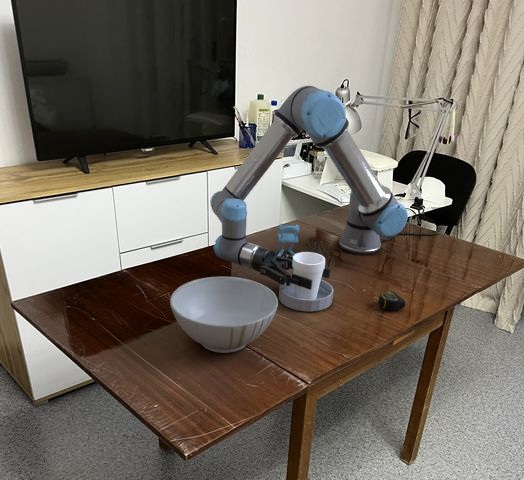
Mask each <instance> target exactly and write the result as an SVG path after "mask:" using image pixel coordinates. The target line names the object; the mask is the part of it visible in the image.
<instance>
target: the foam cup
mask: <svg viewBox="0 0 524 480" xmlns="http://www.w3.org/2000/svg"><path fill="white" fill-rule="evenodd" d="M292 266H293V269H292V274H295V275H298V276H301V277H304V278H307V279H310V280H312V289H311V290H309V289H306V288H304V287H301V286H298V285H295V284H294V293H295V298H299V299H307V300H314V299H316V297H317V293H318V289H319V285H320V281H321V280H322V278H323V277H322V273H323V269H324V268H326V267H325V266H326V257H325V256H324V255H322V254H319V253H317V252H311V251H300V252H297V253H295V255H294V256H293V262H292Z"/></svg>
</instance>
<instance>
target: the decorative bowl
mask: <svg viewBox="0 0 524 480" xmlns="http://www.w3.org/2000/svg"><path fill="white" fill-rule="evenodd" d="M169 304H170V308H171V312H172V314H173V316H174V318H175V320H176V322H177V323H178V325H179V326H180V328H181V329H182V330H183V331H184V333H186V335H187V336H189V337H190V338H191V339H192V340H193V341H195V342H196V343H198V344H200V345H202V347H204V348H205V349H207V350H209V351H212V352H213V353H214V352H215V353H222V354H228V353H234V352H237V351H241V350H242V349H243V348H245V347H246V346H247V345H249V344H250V343H253V342H254V341H255V340H257V339H258V338H259V337H261V335H262V334H263V333H264V332H265V331H266V330H267V329H268V327H269V326H270V324H271V323H272V321H273V319H274V318H275V315H276V313H277V310H278V307H279V299H278V296H277V295H276V293H275V292H274V291H273V290H272V289H271V288H269V287H267V286H266V285H265V284H262V283H261V282H259V281H254V280H251V279H249V278H242V277H237V276H236V277H235V276H209V277H203V278H197V279H194V280H191V281H188V282H185V283H184V284H182V285H180V286H179V287H177V288H176V289H175V290H174V291H173V292H172V294H171V296H170V298H169Z"/></svg>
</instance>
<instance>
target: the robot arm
mask: <svg viewBox="0 0 524 480" xmlns="http://www.w3.org/2000/svg"><path fill="white" fill-rule="evenodd" d="M346 113H347V112H346V107H345V105H344V103H343V102H342V100H341V99H340V98H339V97H338V96H337V95H336V94H335V93H333V92H330V91H329V90H324V89H320V88H319V87H315V86H313V85H303V86H300V87H298V88H297V89H295V90H294V91H292V92H291V93H290V94H289V95H288V97H287V98H286V99H285V100H284V102H282V104H281V105H280V107H279V108H278V110H276V112H275V113H274V115H273V122H272V123H271V124H270V126H269V127H268V128H267V130H266V131H265V133H264V134H263V135H262V137H261V138H260V139H259V140H258V141H257V143H256V144H255V146H254V147H252V149H251V151H250V152H249V154H248V155H247V156H246V158H245V159H244V160H243V162H242V163H241V164H240V166H239V167H238V168H237V170H235V172H234V173H233V175H232V176H231V178H230V179H229V180H228V182H227V183H226V185H225V186H224V187H223V189H221V190H219V191H216V192H215V193H213V194H212V196H211V198H210V203H209V204H210V207H211V210H212V213H213V214H214V215H215V216H216V217H217V219H218V220H219V221H220V223H221V235H219V236H218V237H217V238H216V239H215V242H214V243H215V244H214V245H213V251H214V255H215V256H216V257H218V258H220V259H222V260H223V261H226V262H228V263H229V262H230V263H232V264H236V265H239V266H242V267H245V268H248V269H249V270H253V271H256V272H258V273H259V275H261V276H264V277H267V278H269V279H271V280H272V281H274V282H276V283H278V284H279V285H280V284H281V285H285V283H286V285H287V286H290V283H292V284H295V285H298V286H301V287H304V288H306V289H309V290H311V289H312V280H310V279H307V278H304V277H301V276H298V275H295V274H293V273H292V274H291V273H289V270H293V266H292V262H293V256H292V255H291V254H290V253H283V256H282V255H281V256H277V255H276V254H275V252H274V251H273V250H272V249H270V248H267V247H264V246H261V245H258V244H255V243H252V242H248V241H247V240H246V239H247V238H246V237H247V220H248V219H247V218H248V217H247V216H248V210H247V203H246V201H245V199H247V197H248V196H249V194H250V193H251V192H252V191H253V189H254V188H255V187H256V185H257V184H258V183H259V181H260V180H261V179H262V178H263V177H264V176H265V174H266V172H267V171H268V170H269V169H270V167H271V166H272V165H273V163H274V162H275V160H277V159H278V157H279V155H280V154H281V153H282V152H283V150H284V149H285V148H286V147H287V145H288V144H289V143H290V142H291V140H292V139H293V138H297V137H298V136H299V135H300V134H301V133H302V132H303V131H305V132H306V134H307V135H308V137H309V139H310V140H311V141H312V143H313V144H314V146H315V147H316V148H319V149H323V150H324V151H325V153H326V154H327V156H328V158H329V159H330V160H331V162H332V163H333V165H334V167H335V168H336V170H337V171H338V172H339V174H340V176H341V177H342V178H343V180H344V181H345V183H346V184H347V186H348V188H349V189H350V194H349V203H348V211H347V219H346V224H345V228H344V230H343V231H342V234H341V236H340V238H339V242H338V246H339V248H340V249H341V250H342V251H344V252H346V253H347V252H348V253H349V254H354V255H364V256H367V255H375V254H377V253H379V252H380V251H381V248H382V241H383V242H388V241H390V240H391V239H392V238H393V237H395V236H397V235H408V236H417V235H418V236H435V235H436V234H438V233H439V231H442V227H441V226H438V227H437V229H436V231H434V232H404V231H403V229H404V228H405V227H406V225H407V221H408V218H409V213H408V210H407V209H406V207H405V206H404V205H403V204H401V203H399V201H398V200H397V199H396V197H395V196H394V194H393V192H392V190H391V189H390V188H389V187H388V186H385V185H383V184H381V183H380V180H379V179H378V177H377V176H376V174H375V173H374V170H373V169H372V167H371V166H370V164H369V163H368V161H367V160H366V158H365V156H364V154H363V153H362V152H361V149H360V148H359V146H358V145H357V143H356V141H355V140H354V138H353V137H352V135H351V133H350V131H349V130H348V129H349V125H350V121H349V120H348V118H347V115H346ZM402 231H403V232H402ZM330 276H331V269H330V268H327V267H325V268H324V269H323V273H322V277H321V278H325V279H330Z"/></svg>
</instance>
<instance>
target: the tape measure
mask: <svg viewBox="0 0 524 480" xmlns="http://www.w3.org/2000/svg"><path fill="white" fill-rule="evenodd" d="M406 305H407V304H406V300H405V299H403V298H402V297H401V296H400V295H398V294H397V293H396V292H395V291H384V292H382V293H380V295H379V297H378V306H380V307H381V308H382V309H384V310H386V311H387V310H388V311H397V310H401V309H402V310H403V309H404V308H405V307H406Z"/></svg>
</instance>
